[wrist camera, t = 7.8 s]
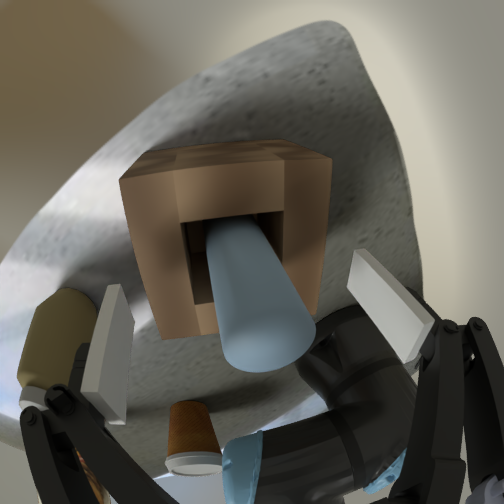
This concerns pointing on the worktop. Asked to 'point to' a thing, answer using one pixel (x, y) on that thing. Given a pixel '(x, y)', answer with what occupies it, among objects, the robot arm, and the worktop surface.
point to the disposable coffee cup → (192, 441)
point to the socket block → (223, 205)
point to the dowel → (254, 297)
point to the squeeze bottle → (54, 344)
